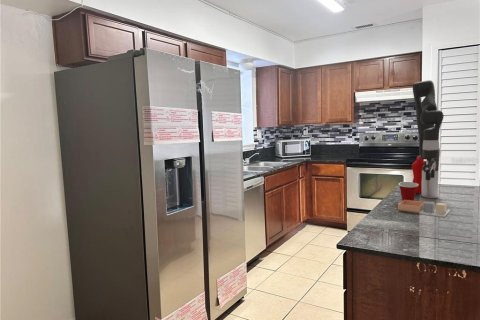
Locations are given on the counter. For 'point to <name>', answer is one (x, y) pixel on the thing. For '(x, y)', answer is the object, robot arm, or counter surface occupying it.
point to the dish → (411, 206)
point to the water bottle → (418, 173)
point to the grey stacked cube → (429, 207)
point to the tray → (434, 213)
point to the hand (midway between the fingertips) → (430, 178)
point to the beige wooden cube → (441, 208)
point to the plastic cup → (408, 190)
